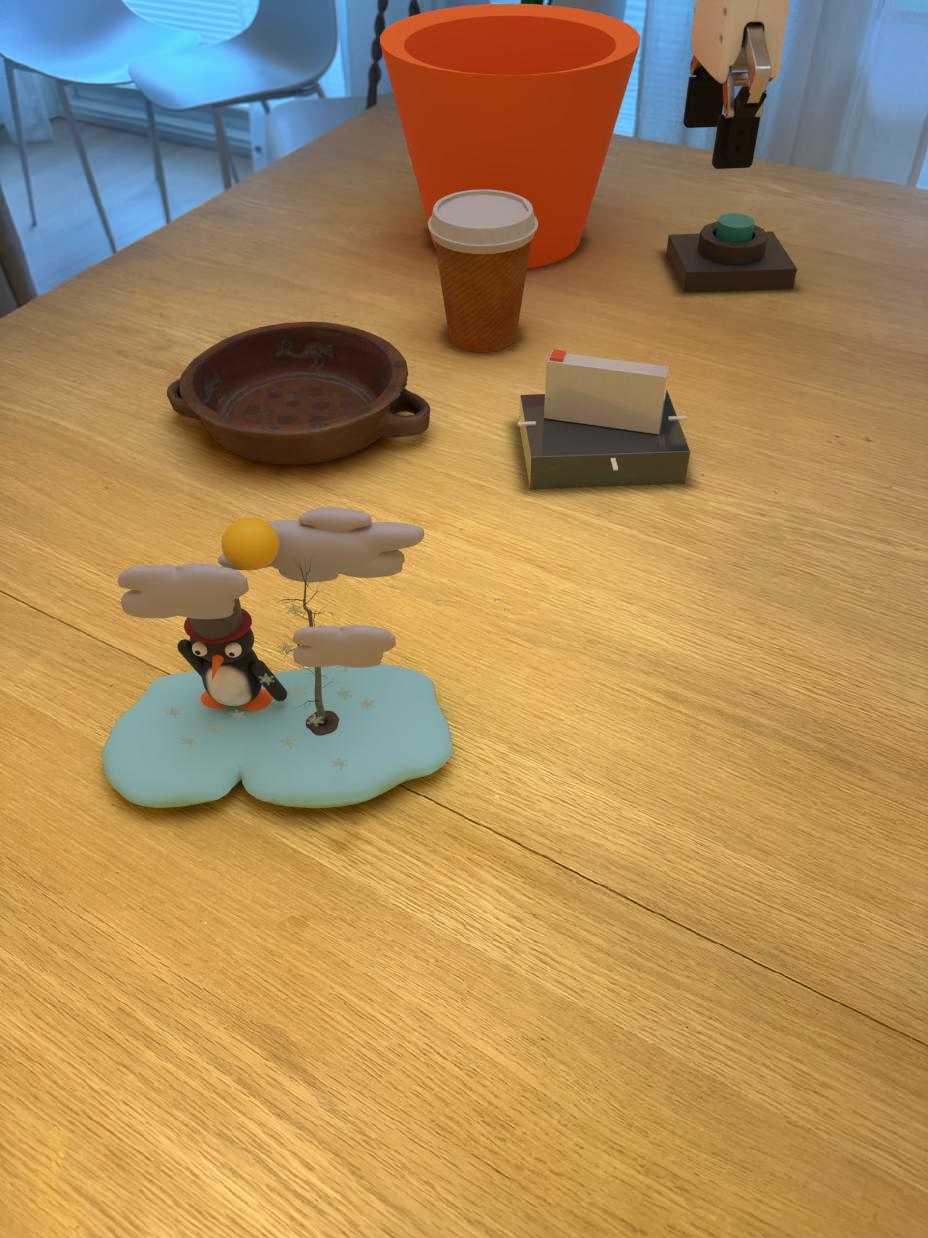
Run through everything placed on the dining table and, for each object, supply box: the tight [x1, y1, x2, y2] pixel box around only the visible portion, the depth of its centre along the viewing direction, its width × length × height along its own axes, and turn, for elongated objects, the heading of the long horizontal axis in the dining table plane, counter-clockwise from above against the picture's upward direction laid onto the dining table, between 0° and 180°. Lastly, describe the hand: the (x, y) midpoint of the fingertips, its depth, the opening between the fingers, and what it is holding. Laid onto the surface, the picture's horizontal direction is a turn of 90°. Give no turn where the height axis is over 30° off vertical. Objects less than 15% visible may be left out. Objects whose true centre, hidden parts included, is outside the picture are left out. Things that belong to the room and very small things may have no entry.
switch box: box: [665, 221, 798, 293], centre depth 107 cm, size 11×9×4 cm
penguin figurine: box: [101, 506, 454, 809], centre depth 57 cm, size 20×11×15 cm, turn 90°
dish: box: [166, 321, 431, 465], centre depth 86 cm, size 18×22×5 cm
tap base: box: [517, 389, 691, 490], centre depth 83 cm, size 13×13×3 cm
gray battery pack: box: [544, 349, 670, 434], centre depth 80 cm, size 9×2×5 cm, turn 74°
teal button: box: [715, 212, 756, 242], centre depth 105 cm, size 4×4×2 cm
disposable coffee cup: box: [427, 190, 538, 353], centre depth 94 cm, size 10×10×12 cm
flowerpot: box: [379, 3, 641, 269], centre depth 108 cm, size 25×25×20 cm
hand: (715, 145), depth 89 cm, fingers open, 9 cm apart
